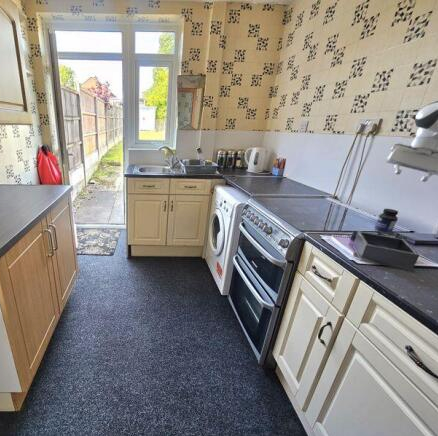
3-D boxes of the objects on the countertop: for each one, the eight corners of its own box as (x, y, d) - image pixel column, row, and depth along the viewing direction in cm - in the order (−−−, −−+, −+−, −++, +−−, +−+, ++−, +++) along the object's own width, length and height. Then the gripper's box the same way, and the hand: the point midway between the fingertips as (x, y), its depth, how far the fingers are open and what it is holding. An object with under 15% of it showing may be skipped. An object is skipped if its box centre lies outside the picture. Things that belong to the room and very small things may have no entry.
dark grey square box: (396, 255, 93) (404, 239, 90) (410, 273, 82) (419, 255, 79) (352, 246, 99) (358, 231, 96) (359, 262, 88) (366, 244, 85)
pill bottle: (369, 230, 115) (378, 208, 111) (379, 229, 116) (388, 207, 112) (384, 236, 109) (393, 212, 105) (394, 235, 111) (404, 212, 107)
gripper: (398, 139, 108) (385, 167, 108) (459, 152, 101) (445, 183, 101) (390, 145, 114) (377, 172, 114) (447, 158, 107) (433, 187, 107)
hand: (410, 177), depth 107 cm, fingers open, 8 cm apart
